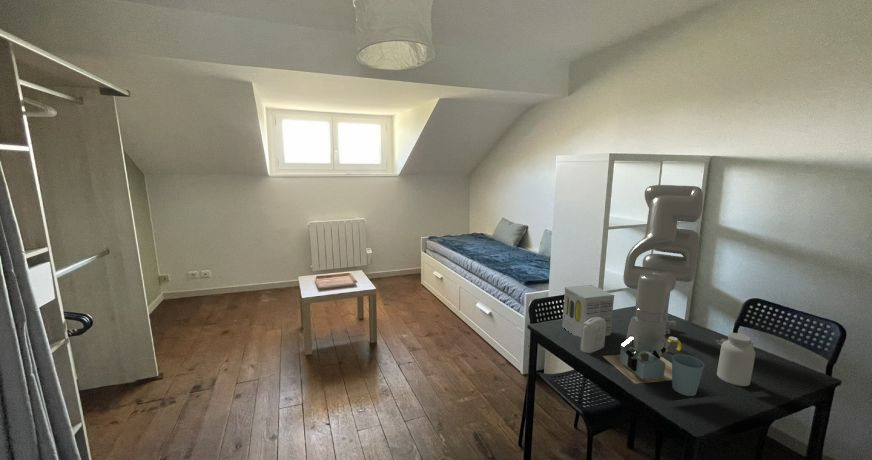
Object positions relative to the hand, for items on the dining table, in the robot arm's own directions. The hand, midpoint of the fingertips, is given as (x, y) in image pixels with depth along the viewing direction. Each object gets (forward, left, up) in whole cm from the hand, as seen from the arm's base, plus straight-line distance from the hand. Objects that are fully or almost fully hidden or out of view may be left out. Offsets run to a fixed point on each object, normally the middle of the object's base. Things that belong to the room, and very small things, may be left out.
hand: (642, 367), depth 112 cm
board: (-4, -3, -3) cm, 6 cm away
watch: (-21, -11, -3) cm, 24 cm away
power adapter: (-42, -8, -3) cm, 43 cm away
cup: (-6, +9, -3) cm, 12 cm away
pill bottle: (-26, +7, -3) cm, 27 cm away
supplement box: (0, -31, -3) cm, 32 cm away
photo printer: (+6, -17, -3) cm, 19 cm away
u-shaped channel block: (0, 0, -1) cm, 1 cm away
